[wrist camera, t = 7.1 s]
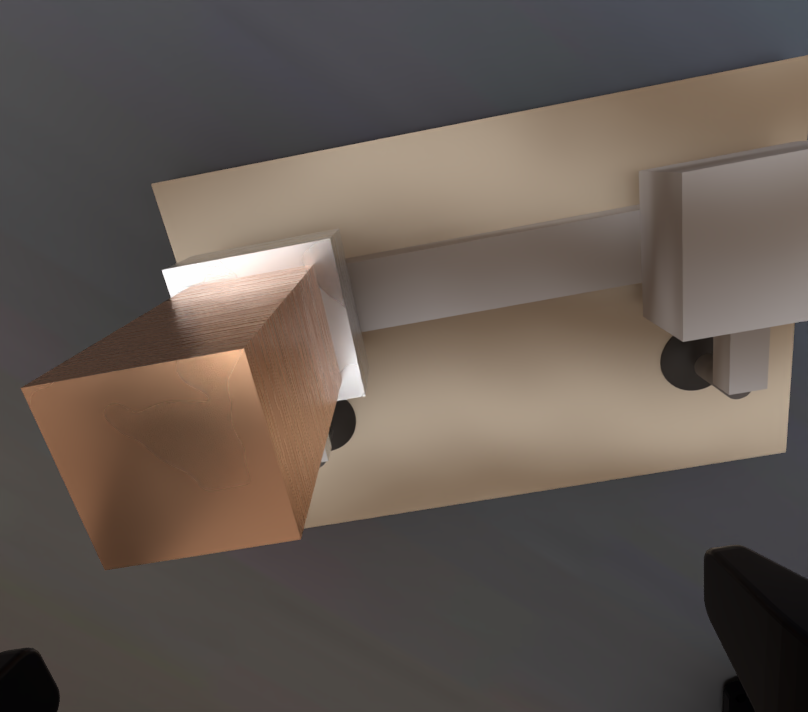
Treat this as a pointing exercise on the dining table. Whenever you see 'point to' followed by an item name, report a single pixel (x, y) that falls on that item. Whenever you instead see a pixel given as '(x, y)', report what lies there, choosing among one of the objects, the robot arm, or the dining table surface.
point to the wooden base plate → (549, 286)
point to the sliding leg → (209, 404)
